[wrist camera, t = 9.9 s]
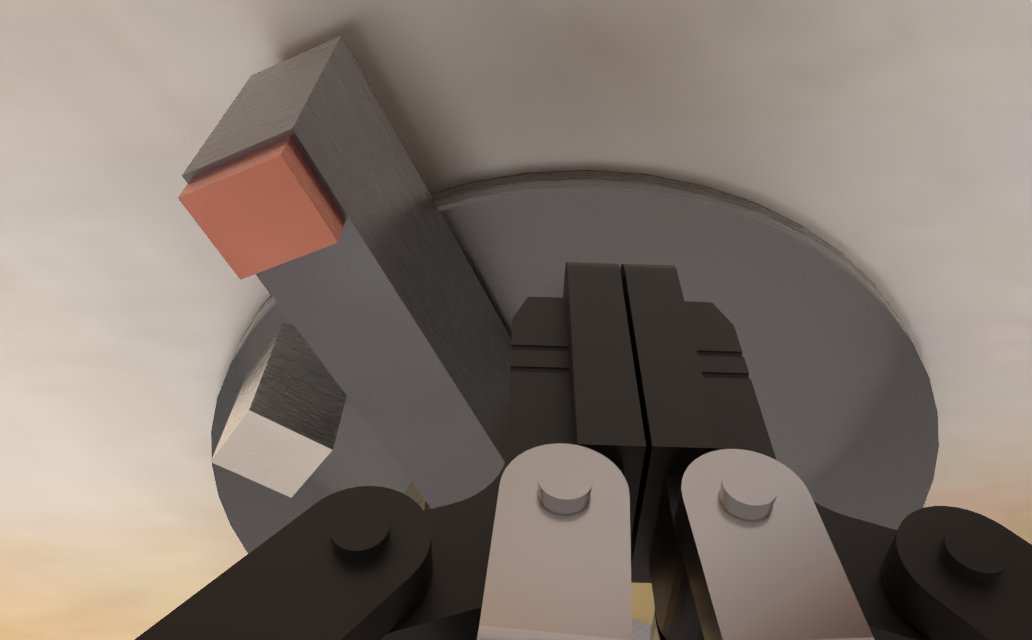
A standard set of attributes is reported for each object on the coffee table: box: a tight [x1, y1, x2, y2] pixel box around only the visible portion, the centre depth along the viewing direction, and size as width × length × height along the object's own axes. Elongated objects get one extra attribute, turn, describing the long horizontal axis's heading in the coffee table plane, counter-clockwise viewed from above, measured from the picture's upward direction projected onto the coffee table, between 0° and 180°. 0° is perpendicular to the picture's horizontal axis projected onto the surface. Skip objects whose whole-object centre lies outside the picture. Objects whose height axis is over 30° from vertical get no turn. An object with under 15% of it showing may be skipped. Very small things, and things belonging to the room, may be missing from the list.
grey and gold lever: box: [179, 35, 655, 625], centre depth 19 cm, size 19×9×5 cm, turn 23°
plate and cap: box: [211, 170, 939, 640], centre depth 22 cm, size 20×20×7 cm
